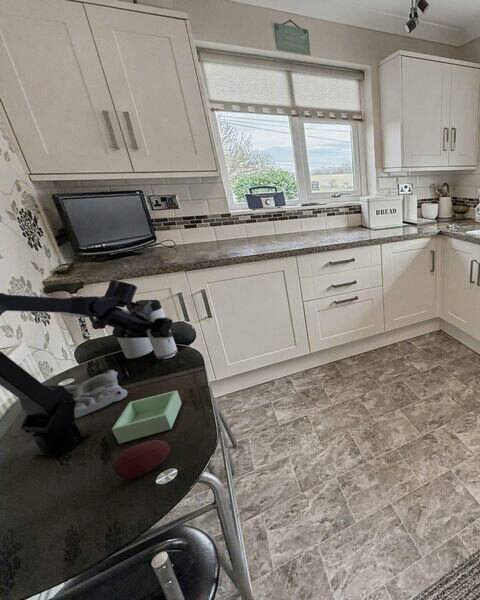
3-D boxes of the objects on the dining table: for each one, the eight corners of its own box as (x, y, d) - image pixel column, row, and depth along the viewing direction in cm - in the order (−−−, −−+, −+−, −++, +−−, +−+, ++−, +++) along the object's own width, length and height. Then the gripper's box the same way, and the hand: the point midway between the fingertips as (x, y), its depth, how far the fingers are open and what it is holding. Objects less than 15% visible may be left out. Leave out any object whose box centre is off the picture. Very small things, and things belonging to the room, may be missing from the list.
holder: (118, 443, 82) (111, 429, 80) (135, 415, 92) (129, 402, 91) (171, 429, 86) (165, 414, 84) (181, 403, 96) (176, 390, 94)
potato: (121, 470, 74) (110, 449, 72) (173, 447, 79) (164, 427, 77) (118, 492, 68) (106, 471, 66) (174, 466, 74) (165, 445, 71)
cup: (140, 358, 125) (128, 330, 121) (119, 358, 126) (107, 330, 122) (159, 346, 134) (148, 319, 129) (139, 347, 135) (128, 320, 130)
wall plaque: (128, 398, 101) (124, 387, 99) (42, 431, 89) (35, 420, 88) (124, 370, 117) (119, 360, 116) (50, 395, 106) (45, 385, 104)
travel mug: (154, 355, 114) (133, 301, 107) (176, 348, 117) (157, 295, 111) (155, 361, 109) (134, 305, 102) (178, 353, 113) (159, 299, 106)
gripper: (157, 294, 100) (194, 313, 114) (107, 296, 103) (149, 314, 117) (143, 329, 95) (184, 344, 109) (91, 329, 99) (137, 344, 112)
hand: (163, 335), depth 112 cm, fingers closed on travel mug, 6 cm apart
